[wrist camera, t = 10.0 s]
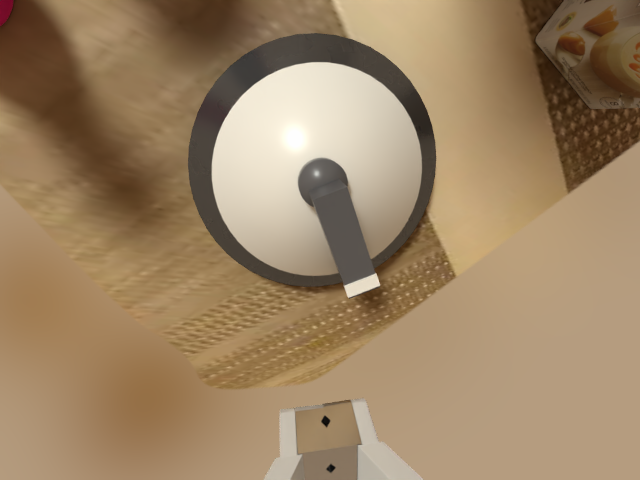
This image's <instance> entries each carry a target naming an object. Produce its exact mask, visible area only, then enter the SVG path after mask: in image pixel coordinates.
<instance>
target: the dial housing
mask: <svg viewBox="0 0 640 480" xmlns="http://www.w3.org/2000/svg"><path fill="white" fill-rule="evenodd" d="M311 62H328V63H335V64H341V65H345V66H348V67H351V68H354V69H357V70H360V71H362V72H364V73H366V74H368V75H370V76H371V77H373V78H374V79H376V80H377V81H379V82H380V83H382V84H383V85H384V86H385V87H386V88H387V89H388V90H390V91H391V92H392V93H393V94H394V95H395V97H396V98H397V99H398V100H399V101H400V103H401V104H402V105H403V107H404V108H405V110H406V112H407V113H408V115H409V117H410V118H411V121H412V123H413V125H414V128H415V130H416V133H417V136H418V140H419V144H420V150H421V157H422V175H421V185H420V189H419V194H418V198H417V201H416V203H415V206H414V209H413V211H412V213H411V215H410V217H409V219H408V221H407V223H406V224H405V226H404V227H403V229H402V230H401V232H400V233H399V234H398V236H397V237H396V238H395V239H394V240H393V242H392V243H390V244H389V245H388V246H387V247H386V248H385V249H384V250H383V251H382V252H380V253H379V254H378V255H377V256H375V257H374V258H372V259H371V262H372V265H373V268H376V267H377V266H379V265H380V264H382V263H383V262H385V261H386V260H387V259H388V258H390V257H391V256H392V255H393V254H394V253H395V252H396V251H397V250H398V249H399V248H400V247H401V246H402V245H403V244H404V243H405V242H406V241H407V239H408V238H409V237H410V235H411V234H412V233H413V231H414V230H415V228H416V226H417V225H418V223H419V221H420V220H421V218H422V216H423V214H424V211H425V209H426V207H427V204H428V202H429V198H430V195H431V192H432V188H433V183H434V177H435V168H436V149H435V139H434V134H433V129H432V124H431V121H430V118H429V115H428V112H427V110H426V108H425V105H424V103H423V101H422V99H421V97H420V95H419V94H418V92H417V91H416V89H415V88H414V86H413V85H412V83H411V82H410V80H409V79H408V78H407V77H406V76H405V75H404V74H403V72H402V71H401V70H400V69H399V68H398V67H397V66H396V65H395V64H393V63H392V62H391V61H390V60H389V59H387V58H386V57H385V56H383V55H382V54H380V53H379V52H377V51H375V50H374V49H372V48H371V47H369V46H366V45H364V44H362V43H359V42H357V41H355V40H352V39H348V38H344V37H340V36H336V35H328V34H318V33H314V34H297V35H293V36H288V37H283V38H279V39H276V40H274V41H271V42H268V43H266V44H263V45H261V46H259V47H257V48H256V49H254V50H252V51H250V52H248V53H247V54H245V55H244V56H242V57H241V58H240V59H239V60H237V61H236V62H235V63H234V64H232V65H231V66H230V67H229V68H228V69H227V70H226V71H225V72H224V73H223V74H222V75H221V76H220V77H219V79H218V80H217V81H216V82H215V84H214V85H213V87H212V88H211V89H210V91H209V92H208V94H207V95H206V97H205V99H204V101H203V103H202V105H201V107H200V109H199V111H198V114H197V117H196V120H195V123H194V126H193V129H192V133H191V139H190V144H189V157H188V169H189V180H190V186H191V190H192V194H193V199H194V201H195V204H196V207H197V209H198V212H199V215H200V217H201V218H202V220H203V222H204V224H205V226H206V228H207V229H208V231H209V232H210V234H211V235H212V237H213V238H214V239H215V241H216V242H217V243H218V244H219V245H220V246H221V247H222V249H223V250H224V251H225V252H226V253H227V254H228V255H230V256H231V257H232V258H233V259H234V260H235V261H237V262H238V263H239V264H241V265H242V266H244V267H245V268H247V269H248V270H250V271H252V272H254V273H256V274H258V275H260V276H262V277H264V278H267V279H270V280H273V281H276V282H279V283H284V284H288V285H294V286H304V287H312V286H326V285H333V284H337V283H341V282H342V280H341V277H340V275H339V273H336V274H331V275H321V276H307V275H299V274H293V273H289V272H285V271H282V270H279V269H277V268H274V267H272V266H270V265H268V264H266V263H264V262H262V261H261V260H259V259H257V258H256V257H255V256H253V255H252V254H251V253H250V252H248V251H247V250H246V249H245V248H244V247H243V246H242V245H241V244H240V243H239V242H238V241H237V240H236V238H235V237H234V236H233V234H232V233H231V232H230V230H229V229H228V227H227V225H226V224H225V222H224V220H223V218H222V216H221V214H220V211H219V209H218V206H217V203H216V199H215V196H214V191H213V184H212V159H213V152H214V147H215V143H216V140H217V136H218V133H219V131H220V129H221V126H222V124H223V122H224V120H225V118H226V117H227V115H228V113H229V112H230V110H231V108H232V107H233V106H234V105H235V103H236V102H237V101H238V100H239V98H240V97H241V96H242V95H243V94H244V93H245V92H246V91H247V90H249V89H250V88H251V87H252V86H253V85H254V84H256V83H257V82H259V81H260V80H262V79H263V78H265V77H266V76H268V75H270V74H272V73H274V72H276V71H278V70H281V69H283V68H287V67H290V66H293V65H297V64H304V63H311Z"/></svg>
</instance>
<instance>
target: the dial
mask: <svg viewBox="0 0 640 480" xmlns="http://www.w3.org/2000/svg"><path fill="white" fill-rule="evenodd" d="M421 175H422V157H421V150H420V144H419V140H418V136H417V133H416V130H415V128H414V125H413V123H412V121H411V118H410V117H409V115H408V113H407V112H406V110H405V108H404V107H403V105H402V104H401V103H400V101H399V100H398V99H397V98H396V97H395V95H394V94H393V93H392V92H391V91H390V90H388V89H387V88H386V87H385V86H384V85H383V84H382V83H380V82H379V81H377V80H376V79H374V78H373V77H371V76H370V75H368V74H366V73H364V72H362V71H360V70H357V69H354V68H351V67H348V66H345V65H341V64H335V63H328V62H311V63H304V64H297V65H293V66H290V67H287V68H283V69H281V70H278V71H276V72H274V73H272V74H270V75H268V76H266V77H265V78H263V79H262V80H260V81H259V82H257V83H256V84H254V85H253V86H252V87H251V88H250V89H249V90H247V91H246V92H245V93H244V94H243V95H242V96H241V97H240V98H239V100H238V101H237V102H236V103H235V105H234V106H233V107H232V108H231V110H230V112H229V113H228V115H227V117H226V118H225V120H224V122H223V124H222V126H221V129H220V131H219V133H218V136H217V140H216V143H215V147H214V152H213V159H212V184H213V191H214V196H215V199H216V203H217V206H218V209H219V211H220V214H221V216H222V218H223V220H224V222H225V224H226V225H227V227H228V229H229V230H230V232H231V233H232V234H233V236H234V237H235V238H236V240H237V241H238V242H239V243H240V244H241V245H242V246H243V247H244V248H245V249H246V250H247V251H248V252H250V253H251V254H252V255H253V256H255V257H256V258H257V259H259V260H261V261H262V262H264V263H266V264H268V265H270V266H272V267H274V268H277V269H279V270H282V271H285V272H289V273H293V274H299V275H307V276H321V275H331V274H336V273H339V275H340V277H341V280H342V282H343V285H344V288H345V290H346V293H347V296H348V298H349V299H350V298H352V297H355V296H358V295H360V294H363V293H366V292H368V291H371V290H373V289H376V288H379V287H380V283H379V280H378V277H377V274H376V273H375V271H374V268H373V265H372V262H371V259H372V258H374V257H375V256H377V255H378V254H379V253H380V252H382V251H383V250H384V249H385V248H386V247H387V246H388V245H389V244H390V243H392V242H393V240H394V239H395V238H396V237H397V236H398V234H399V233H400V232H401V230H402V229H403V227H404V226H405V224H406V223H407V221H408V219H409V217H410V215H411V213H412V211H413V209H414V206H415V203H416V201H417V198H418V194H419V189H420V185H421Z"/></svg>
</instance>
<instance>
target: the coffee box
mask: <svg viewBox="0 0 640 480" xmlns="http://www.w3.org/2000/svg"><path fill="white" fill-rule="evenodd" d="M536 43H537V45H538V46H539V47H540V48H541V49H542V51H543V52H544V53H545V54H546V56H547V57H548V58H549V59H550V61H551V62H552V63H553V64H554V65H555V66H556V68H557V69H558V70H559V71H560V73H561V74H562V75H563V76H564V78H565V79H566V80H567V81H568V82H569V84H570V85H571V86H572V87H573V89H574V90H575V91H576V92H577V93H578V95H579V96H580V97H581V98H582V100H583V101H584V102H585V103H586V104H587V106H588V107H589V108H590V109H617V108H640V0H564V1H563V2H562V4H561V5H560V6H559V7H558V9H557V10H556V11H555V13H554V14H553V15H552V17H551V18H550V19H549V21H548V22H547V23H546V25H545V26H544V27H543V29H542V30H541V31H540V33H539V34H538V35H537V37H536Z"/></svg>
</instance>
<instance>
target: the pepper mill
mask: <svg viewBox="0 0 640 480" xmlns="http://www.w3.org/2000/svg"><path fill="white" fill-rule="evenodd" d="M12 8H13V0H0V26H1V25H3V24H4V23H5V22H6V21H7V19H8V17H9V16H10V13H11V11H12Z"/></svg>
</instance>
